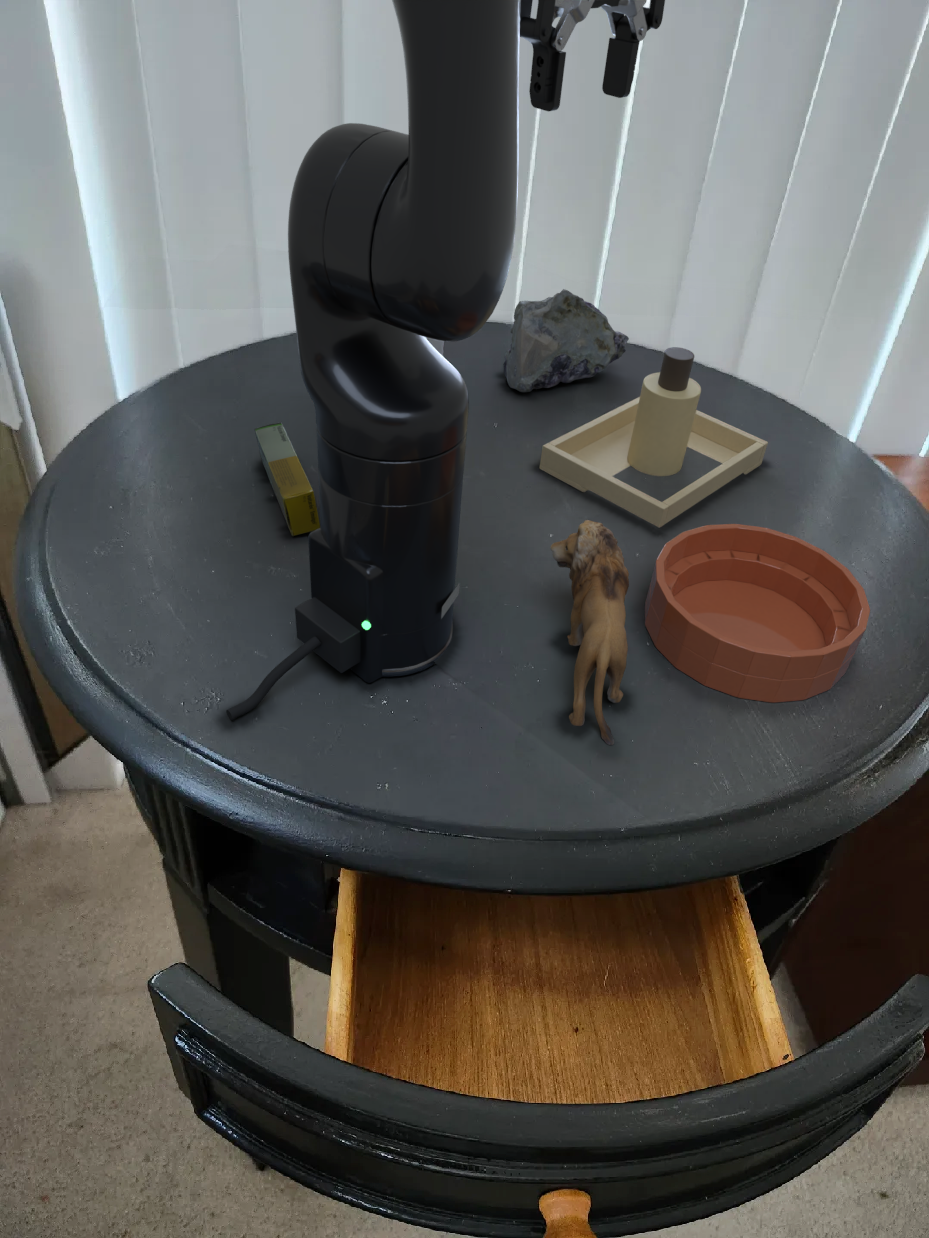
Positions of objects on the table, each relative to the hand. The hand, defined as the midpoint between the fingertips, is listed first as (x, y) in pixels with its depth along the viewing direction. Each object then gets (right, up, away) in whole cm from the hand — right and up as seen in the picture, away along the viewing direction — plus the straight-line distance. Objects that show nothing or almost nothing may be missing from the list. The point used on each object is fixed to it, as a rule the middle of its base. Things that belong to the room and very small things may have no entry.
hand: (580, 102), depth 69 cm
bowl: (+13, -40, +1) cm, 42 cm away
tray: (+9, -24, +19) cm, 32 cm away
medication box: (-24, -28, +11) cm, 39 cm away
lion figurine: (0, -42, -3) cm, 42 cm away
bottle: (+9, -24, +19) cm, 32 cm away
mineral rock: (+2, -13, +32) cm, 34 cm away
